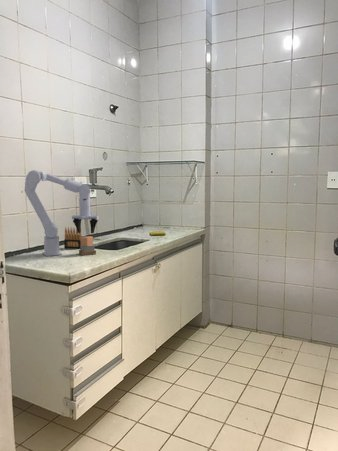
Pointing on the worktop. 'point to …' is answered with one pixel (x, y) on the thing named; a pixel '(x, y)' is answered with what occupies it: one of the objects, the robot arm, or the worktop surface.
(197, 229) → the worktop surface
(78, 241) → the ammunition clip
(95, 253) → the walnut slab
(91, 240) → the terracotta cube
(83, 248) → the grey slab
